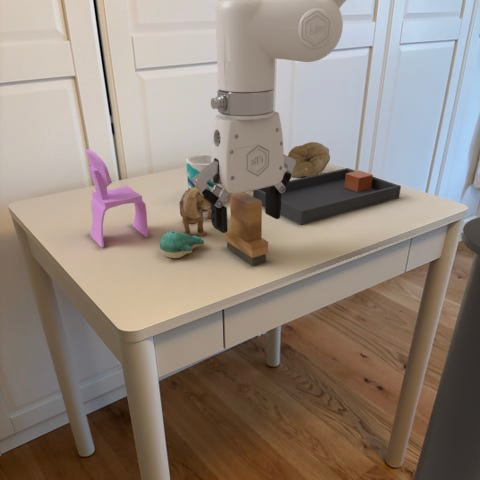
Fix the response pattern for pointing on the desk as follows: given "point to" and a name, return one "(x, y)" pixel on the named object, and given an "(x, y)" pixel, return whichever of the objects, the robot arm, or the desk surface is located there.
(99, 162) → the toy chair
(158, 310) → the desk surface
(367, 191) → the tray
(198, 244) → the whale figurine
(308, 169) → the fossil
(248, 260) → the brush
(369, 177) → the reddish brown block
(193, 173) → the mug
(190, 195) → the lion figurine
